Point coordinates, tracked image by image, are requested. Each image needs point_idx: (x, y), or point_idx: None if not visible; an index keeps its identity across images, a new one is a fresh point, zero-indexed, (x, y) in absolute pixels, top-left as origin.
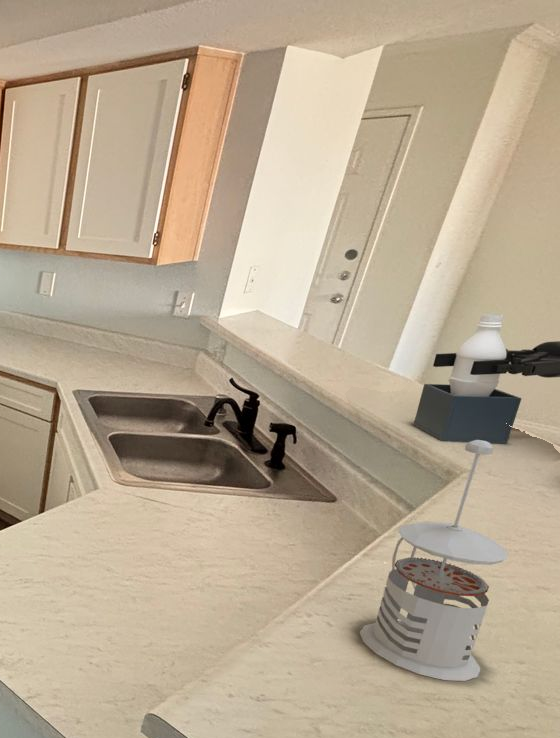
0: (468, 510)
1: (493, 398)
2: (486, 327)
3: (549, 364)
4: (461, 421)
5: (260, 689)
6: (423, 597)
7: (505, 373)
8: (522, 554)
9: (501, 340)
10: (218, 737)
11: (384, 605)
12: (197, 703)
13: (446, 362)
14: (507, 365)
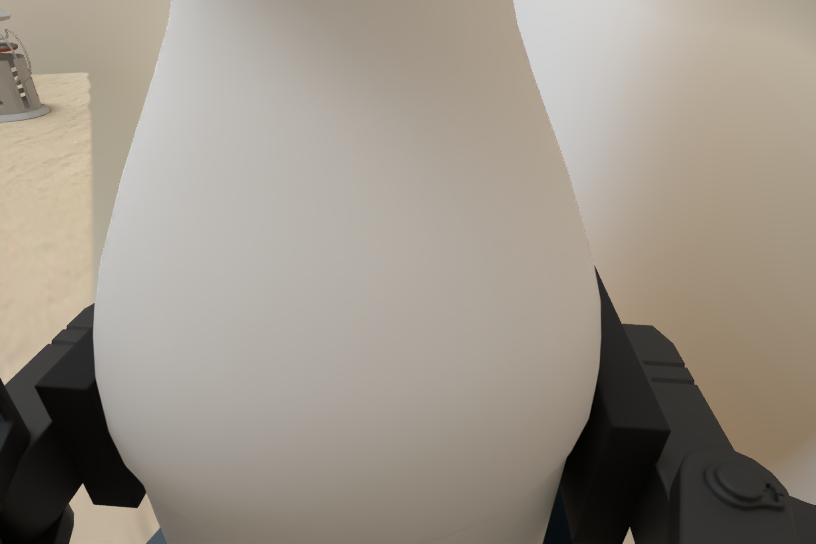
0: (45, 235)
1: (162, 533)
2: None
3: None
4: None
5: (68, 84)
6: (10, 86)
7: (99, 500)
8: None
9: (143, 116)
10: (66, 75)
11: (34, 90)
12: (84, 76)
13: None
14: (48, 348)
